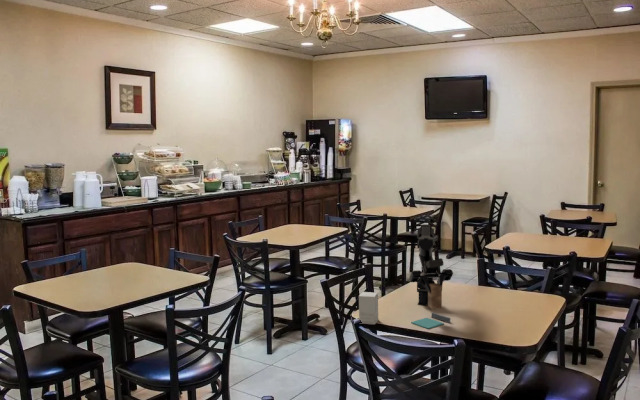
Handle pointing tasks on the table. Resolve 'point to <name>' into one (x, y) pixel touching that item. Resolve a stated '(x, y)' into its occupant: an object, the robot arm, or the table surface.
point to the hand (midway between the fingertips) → (435, 292)
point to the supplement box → (368, 307)
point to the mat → (427, 323)
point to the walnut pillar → (435, 296)
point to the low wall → (441, 317)
